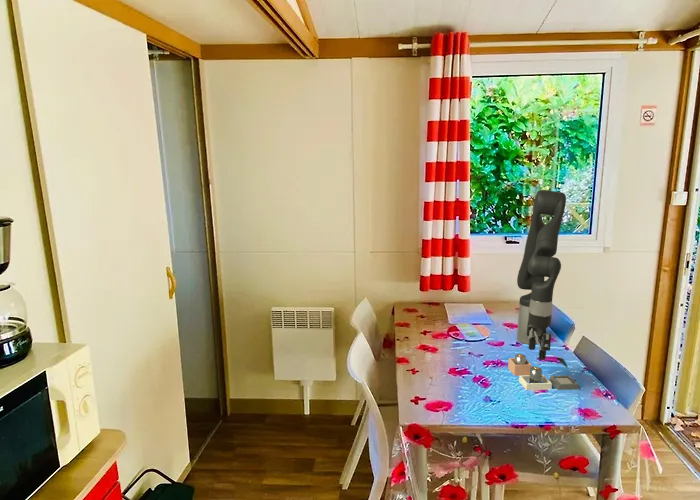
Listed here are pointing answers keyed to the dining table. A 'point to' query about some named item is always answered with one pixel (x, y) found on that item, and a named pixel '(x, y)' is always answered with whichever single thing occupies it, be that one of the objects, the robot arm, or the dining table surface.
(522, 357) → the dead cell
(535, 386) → the trough
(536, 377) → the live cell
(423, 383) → the dining table surface
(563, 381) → the plate
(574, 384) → the grey square pedestal
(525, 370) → the tan open box
